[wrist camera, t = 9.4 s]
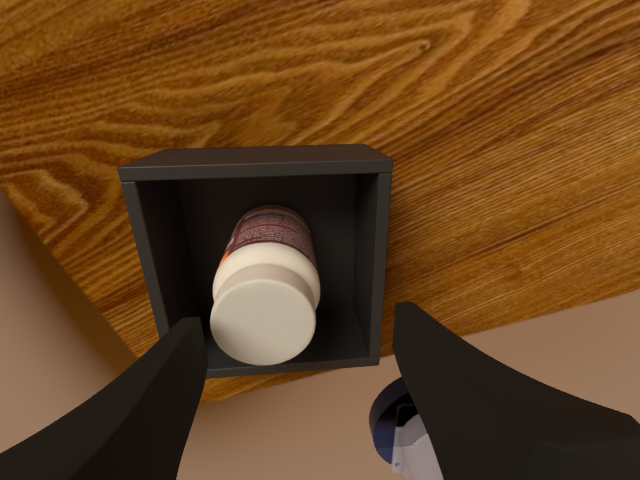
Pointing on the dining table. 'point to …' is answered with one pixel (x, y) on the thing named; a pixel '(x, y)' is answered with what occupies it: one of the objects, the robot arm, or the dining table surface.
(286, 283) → the pill bottle
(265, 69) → the dining table surface
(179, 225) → the open storage bin
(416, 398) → the robot arm
